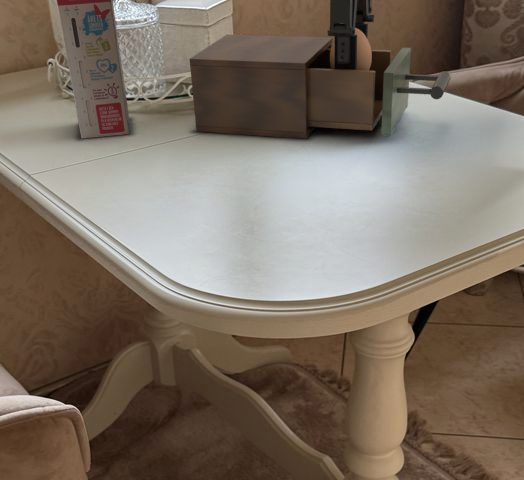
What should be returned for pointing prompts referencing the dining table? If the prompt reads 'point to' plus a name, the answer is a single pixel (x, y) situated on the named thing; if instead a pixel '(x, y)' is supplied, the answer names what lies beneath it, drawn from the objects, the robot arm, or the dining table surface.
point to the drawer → (365, 92)
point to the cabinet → (254, 84)
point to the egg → (362, 52)
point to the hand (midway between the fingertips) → (350, 81)
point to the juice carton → (95, 66)
